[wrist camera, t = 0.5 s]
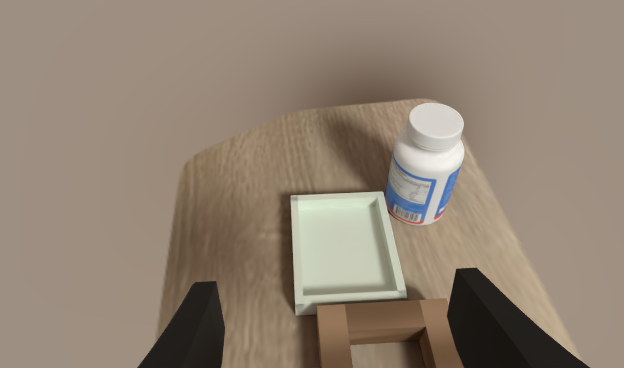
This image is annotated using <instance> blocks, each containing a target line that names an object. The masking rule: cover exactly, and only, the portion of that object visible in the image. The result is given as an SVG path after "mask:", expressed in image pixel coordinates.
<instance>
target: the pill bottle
mask: <svg viewBox="0 0 624 368" xmlns="http://www.w3.org/2000/svg"><path fill="white" fill-rule="evenodd" d="M463 126H464V122H463V119H462V117H461V115H460V114H459V113H458V112H457V111H456V110H454V109H452V108H451V107H449V106H446V105H443V104H438V103H424V104H421V105H418V106H416V107H415V108H413V109H412V111H411V112H410V114H409V117H408V121H407V124H406V128H404V129H403V130H402V131H401V132H400V133H399V134H398V136H397V137H396V140H395V144H394V148H393V153H392V159H391V165H390V170H389V176H388V181H387V187H386V192H385V202H386V206H387V208H388V210H389V211H390V213H391V214H392V215H393V216H394V217H396V218H397V219H398V220H400V221H402V222H404V223H407V224H411V225H428V224H431V223H433V222H435V221H437V220H438V219H439V218H440V217H441V216H442V215H443V213H444V211H445V209H446V206H447V203H448V200H449V198H450V195H451V192H452V189H453V187H454V184H455V181H456V178H457V176H458V173H459V170H460V167H461V164H462V161H463V158H464V146H463V143H462V141H461V140H460V137H461V133H462V130H463Z"/></svg>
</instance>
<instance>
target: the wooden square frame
mask: <svg viewBox="0 0 624 368" xmlns="http://www.w3.org/2000/svg"><path fill="white" fill-rule="evenodd" d="M448 307H449V306H448V302H447V299H446V298H444V299H427V300H409V301H392V302H374V303H356V304H339V305H321V306H317V333H318V346H319V360H320V368H353V366H352V358H351V350H350V345H357V344H374V343H390V342H406V341H419V343H420V347H421V351H422V356H423V360H424V364H425V368H464V367H463V364H462V362H461V359H460V357H459V355H458V352H457V350H456V347H455V344H454V340H453V337H452V334H451V330H450V326H449V323H448V319H447V312H448Z"/></svg>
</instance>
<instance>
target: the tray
mask: <svg viewBox="0 0 624 368" xmlns="http://www.w3.org/2000/svg"><path fill="white" fill-rule="evenodd" d="M291 217H292V241H293V265H294V289H295V312H296V315H313V314H317V306H321V305H339V304H356V303H374V302H392V301H407V299H408V297H407V292H406V288H405V284H404V279H403V275H402V271H401V266H400V262H399V258H398V253H397V249H396V245H395V240H394V236H393V232H392V227H391V223H390V219H389V215H388V210H387V206H386V202H385V197H384V193H383V192H361V193H338V194H315V195H293V196H291Z"/></svg>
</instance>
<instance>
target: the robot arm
mask: <svg viewBox="0 0 624 368" xmlns="http://www.w3.org/2000/svg"><path fill="white" fill-rule="evenodd" d="M447 319H448V323H449V326H450V330H451V334H452V337H453V340H454V344H455V347H456V350H457V352H458V355H459V357H460V359H461V362H462V364H463V367H464V368H590V367H588V366H587V365H586V364H584V363H583V362H582V361H580V360H579V359H578V358H576V357H575V356H574V355H572V354H571V353H570V352H568V351H567V350H566V349H565V348H564V347H562V346H561V345H560V344H559V343H558V342H556V341H555V340H554V339H553V338H551V337H550V336H549V335H548V334H547V333H545V332H544V331H543V330H542V329H541V328H540V327H539V326H537V325H536V324H535V323H534V322H533V321H532V320H531V319H530V318H529V317H528V316H526V315H525V314H524V313H523V312H522V311H521V310H520V309H519V308H518V307H517V306H516V305H515V304H513V303H512V302H511V301H510V300H509V299H508V298H507V297H506V296H505V295H504V294H503V293H502V292H501V291H500V290H499V289H498V288H497V287H496V286H495V285H494V284H493V283H492V282H491V281H490V280H489V279H488V278H487V277H486V276H485V275H483V274H482V273H481V272H480V271H479V270H478V269H477V268H461V269H456V273H455V278H454V283H453V288H452V292H451V297H450V302H449V307H448V312H447ZM224 334H225V326H224V320H223V315H222V310H221V304H220V299H219V294H218V289H217V283H216V281H210V282H195V283H194V284H193V285H192V287H191V288H190V290H189V292H188V294H187V295H186V297H185V299H184V300H183V302H182V304H181V305H180V307H179V309H178V310H177V312H176V313H175V315H174V317H173V318H172V320H171V321H170V323H169V324H168V326H167V327H166V329H165V330H164V332H163V333H162V335H161V336H160V338H159V339H158V341H157V342H156V343H155V345H154V346H153V348H152V349H151V350H150V352H149V353H148V354H147V356H146V357H145V358H144V360H143V361H142V362H141V364H140V365H139V366H138V368H221V364H222V357H223V346H224Z"/></svg>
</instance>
